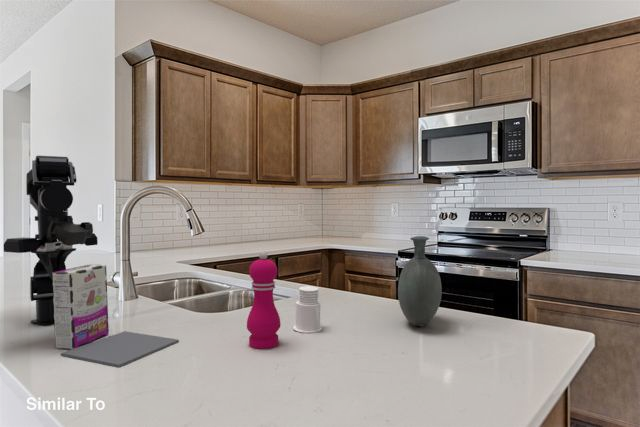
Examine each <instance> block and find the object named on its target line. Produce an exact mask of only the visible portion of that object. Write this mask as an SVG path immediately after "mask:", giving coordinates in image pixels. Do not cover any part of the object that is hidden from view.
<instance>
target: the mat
mask: <svg viewBox="0 0 640 427" xmlns="http://www.w3.org/2000/svg"><path fill="white" fill-rule="evenodd" d="M179 342H180V340H179V339H176V338H170V337H164V336H157V335H152V334H146V333H138V332H132V331H126V330H124V331H121V332H119V333H116V334H113V335H110V336H107V337H104V338H102V339H101V338H100V339H97V340H94V341H92V342H90V343H88V344H86V345H83V346H80V347H77V348H74V349H71V350H70V349H68V350H66V351H62V352H61V353H60V356H61V357H65V358H71V359H75V360H81V361H84V362H85V361H87V362H90V363H96V364H101V365H106V366H110V367H116V368H121V367H123V366H126V365H129V364H131V363H133V362H135V361H138V360H140V359H142V358H144V357H147V356H149V355H151V354H154V353H156V352H159V351H161V350H163V349H165V348H168V347H170V346H173V345H175V344H178V343H179Z"/></svg>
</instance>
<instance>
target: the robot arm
mask: <svg viewBox="0 0 640 427" xmlns="http://www.w3.org/2000/svg"><path fill="white" fill-rule="evenodd" d="M31 163H32V164H31V169H30V170H29V171H28V172H27V173H26V183H25V184H26V189H25V190H26V195H27V196H29V203H30V205H31V206H32V207H33V208H34V210H35V211H36V212H37V213H36V215H35V216H34V221H35V222H36V221H37V234H34V235H35V236H34V237H12V238H6V240H5V242H4V243H3V252H5V253H18V254H20V253H21V254H24V253H31V254H35V255H36V257H37V258H38V262H36V263H35V265H34V267H33V271H32V272H33V273H32V276H30V278H29V295H30V296H29V299H30V301H31V302H34V301H35V310H36V313H35V315H36V319H33V320H30V323H31V324H37V325H41V326H42V325H43V326H49V325H53V324H54V303H53V279H52V273H53V272H57V271H62V270H66V269H67V266H66V263H65V262H66V261H67V258H68V256H70V255H71V253H73V252H75V251H77V248H75V247H74V248H73V246H74V245H75V246H76V245H85V246H89V247H90V246H97V245H98V236H96V234H95V233H94V227H93V223H91V222H89V221H87V222H86V221H83V222H81V223H77V224H76V223H74V222H73V221H74V219H73V216H72V215H69V208H71V206H72V205H73V203H74V195H73V194H72V192H71V190H70V189H68V186H75V183H76V184H77V173H76V168H75V166H74V165H73V162H72V161H69V157H68V156H59V155H58V156H53V155H36V156H35V158H34V160H33V159H32V161H31Z"/></svg>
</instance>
